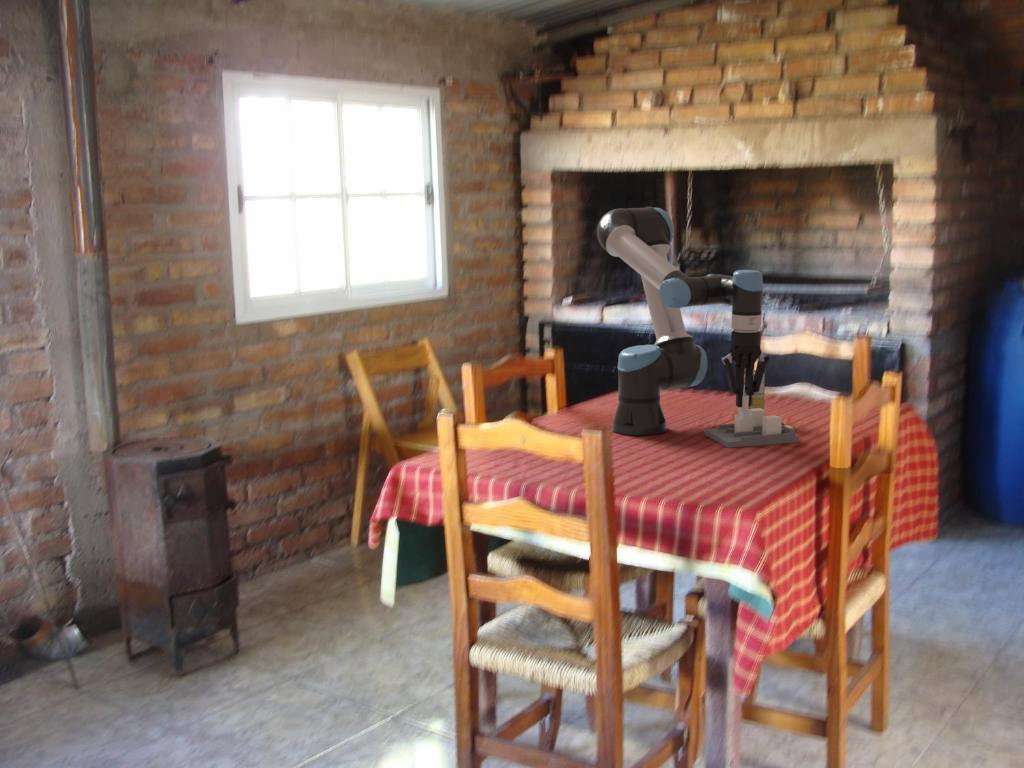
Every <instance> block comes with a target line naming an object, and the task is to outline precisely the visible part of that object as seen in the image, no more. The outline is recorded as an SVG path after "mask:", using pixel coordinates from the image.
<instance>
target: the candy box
mask: <svg viewBox="0 0 1024 768" xmlns="http://www.w3.org/2000/svg"><path fill="white" fill-rule="evenodd" d="M755 371H756V369H754V370H753V379H754V375H755ZM765 375H766V374H765V372H764V374H763V378H762V381H761V385H760V389H759V392H755V393H754V395H752V402H751V403H752V404H751V407H748V409H755V408H761V409H763V410H765V393H766V392H765V386H766V385H765V384H766V383H765V381H766V380H765V378H766V377H765ZM743 394H745V370H744V393H743ZM736 414H739V407H737V413H736Z"/></svg>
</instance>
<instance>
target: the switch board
mask: <svg viewBox="0 0 1024 768" xmlns="http://www.w3.org/2000/svg"><path fill="white" fill-rule="evenodd" d="M704 436H706V437H708V438H710V439H711V440H713V441H715V442H717V443H719V444H721V445H722V446H724V447H726V448H728V449H729V448H740V447H754V446H769V445H770V444H771V445H779V444H780V445H781V444H782V443H784V444H795V443H799V441H800V439H799V438H800V437H799V436H798V435H796V429H795V428H793V426H791V425H788V424H787V425H786V424H785V423H784V422H783V421H781V434H769V435H762V426H755V427H753V431H748V432H735V423H727V424H725V423H723V424H718V425H717V427H716V428H704ZM782 445H783V444H782Z"/></svg>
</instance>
